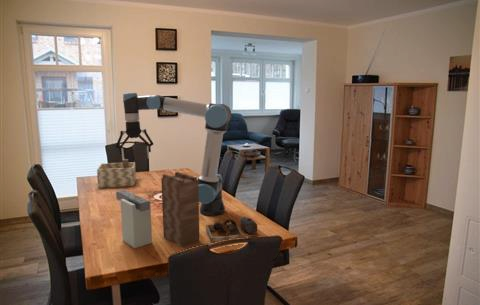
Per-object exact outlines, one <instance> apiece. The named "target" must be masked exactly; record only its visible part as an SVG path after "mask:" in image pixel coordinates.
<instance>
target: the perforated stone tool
mask: <svg viewBox="0 0 480 305" xmlns="http://www.w3.org/2000/svg"><path fill="white" fill-rule="evenodd" d="M239 224H240V227H241V228H242V229H243V230H244V231H245V232H246V233H248V234H256V233H257V232H258V224H257V223H256V221H254V220H253V219H252V218H249V217H247V216H242V217H241V218H240V220H239Z"/></svg>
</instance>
